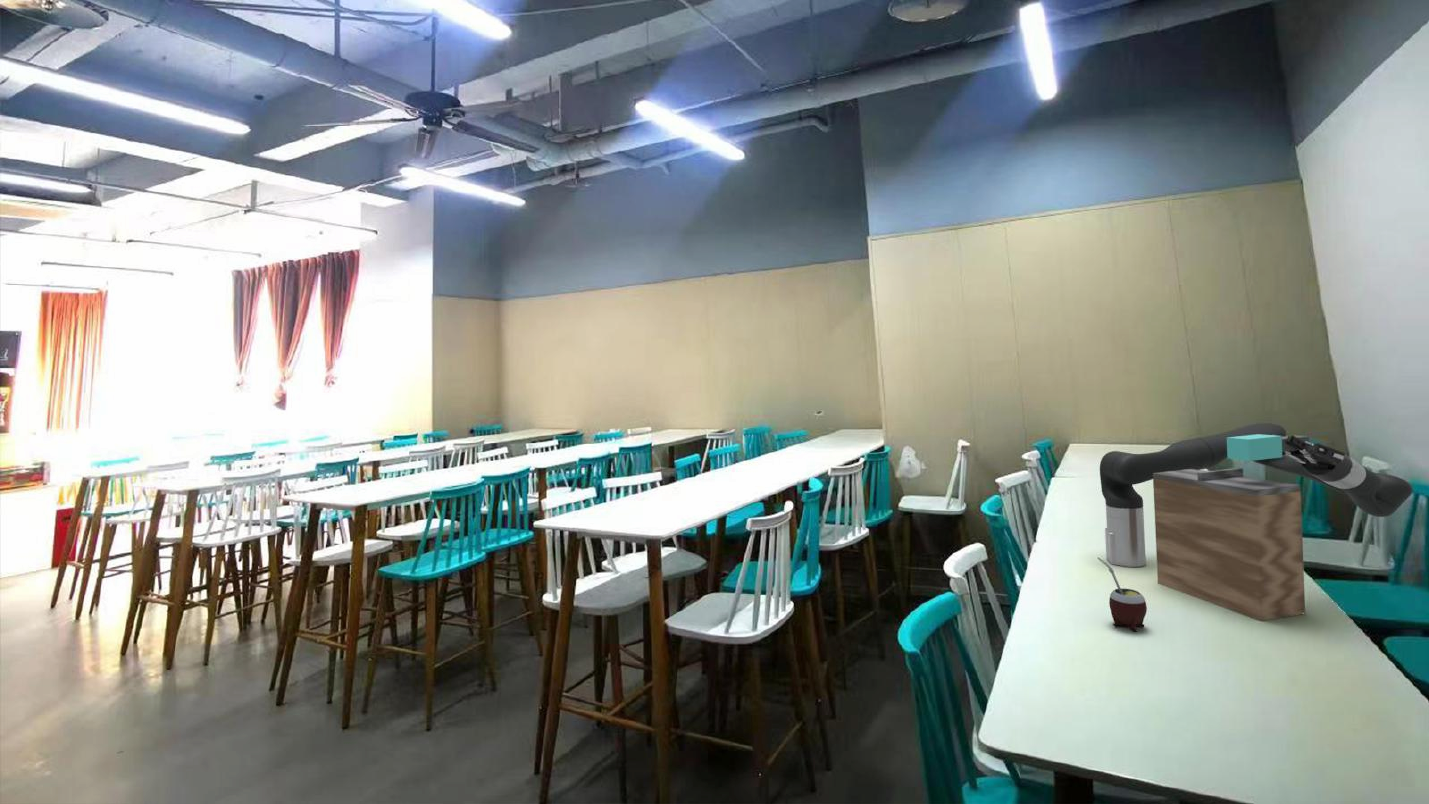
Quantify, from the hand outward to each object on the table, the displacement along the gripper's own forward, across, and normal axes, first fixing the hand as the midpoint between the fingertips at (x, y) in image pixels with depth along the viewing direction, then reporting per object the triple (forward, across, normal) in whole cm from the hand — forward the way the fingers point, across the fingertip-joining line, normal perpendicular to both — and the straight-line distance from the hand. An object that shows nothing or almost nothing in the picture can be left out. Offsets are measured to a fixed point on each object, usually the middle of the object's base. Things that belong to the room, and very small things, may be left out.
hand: (1280, 438), depth 139 cm
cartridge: (+1, 0, +5) cm, 5 cm away
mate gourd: (+18, -1, +56) cm, 59 cm away
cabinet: (-12, -7, +39) cm, 41 cm away
